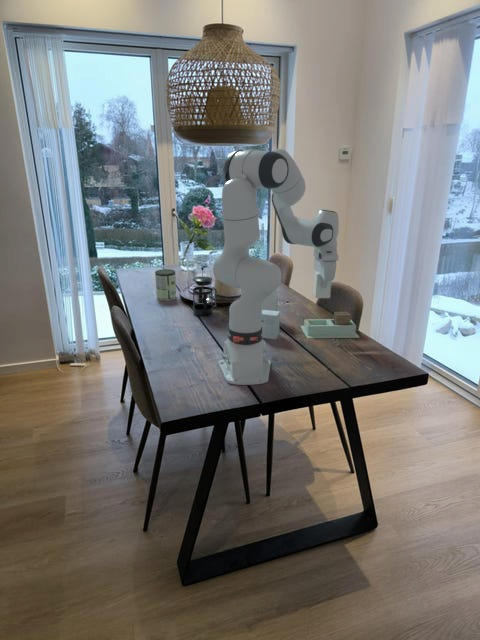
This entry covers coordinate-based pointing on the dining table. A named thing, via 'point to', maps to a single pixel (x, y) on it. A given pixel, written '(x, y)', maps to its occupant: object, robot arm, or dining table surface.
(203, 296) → the french press
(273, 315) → the small box
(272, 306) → the milk bottle
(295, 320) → the dining table surface
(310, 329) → the dock
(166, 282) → the coffee can
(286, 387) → the dining table surface
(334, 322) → the walnut block
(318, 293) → the plug block
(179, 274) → the dining table surface
